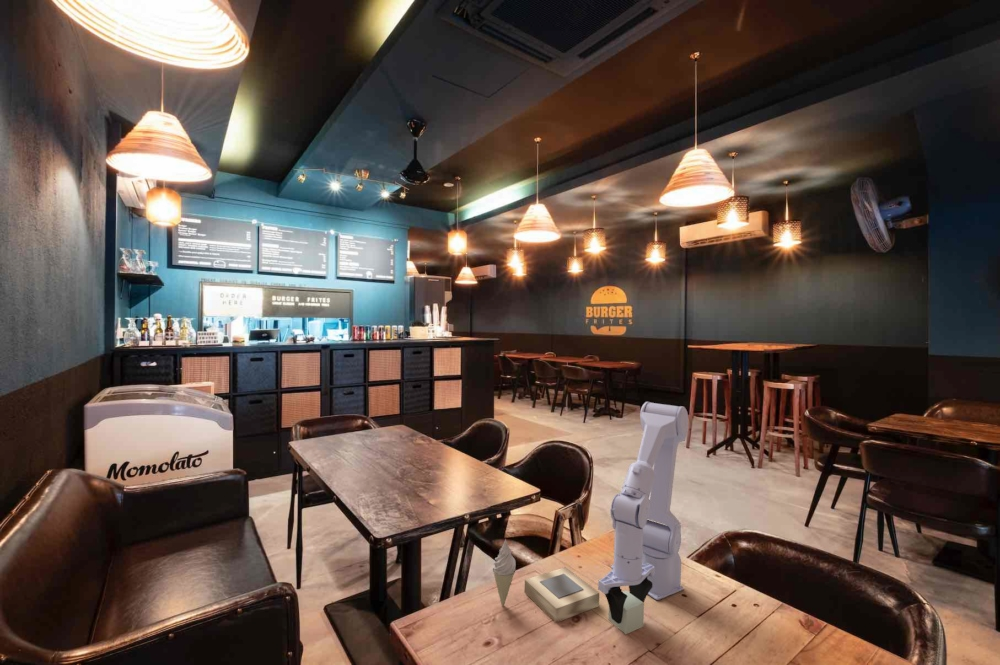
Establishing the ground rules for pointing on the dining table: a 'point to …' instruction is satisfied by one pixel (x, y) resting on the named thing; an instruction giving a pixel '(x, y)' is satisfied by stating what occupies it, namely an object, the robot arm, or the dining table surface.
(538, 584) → the birch pedestal
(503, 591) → the ice cream cone
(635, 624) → the sage cube
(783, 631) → the dining table surface
